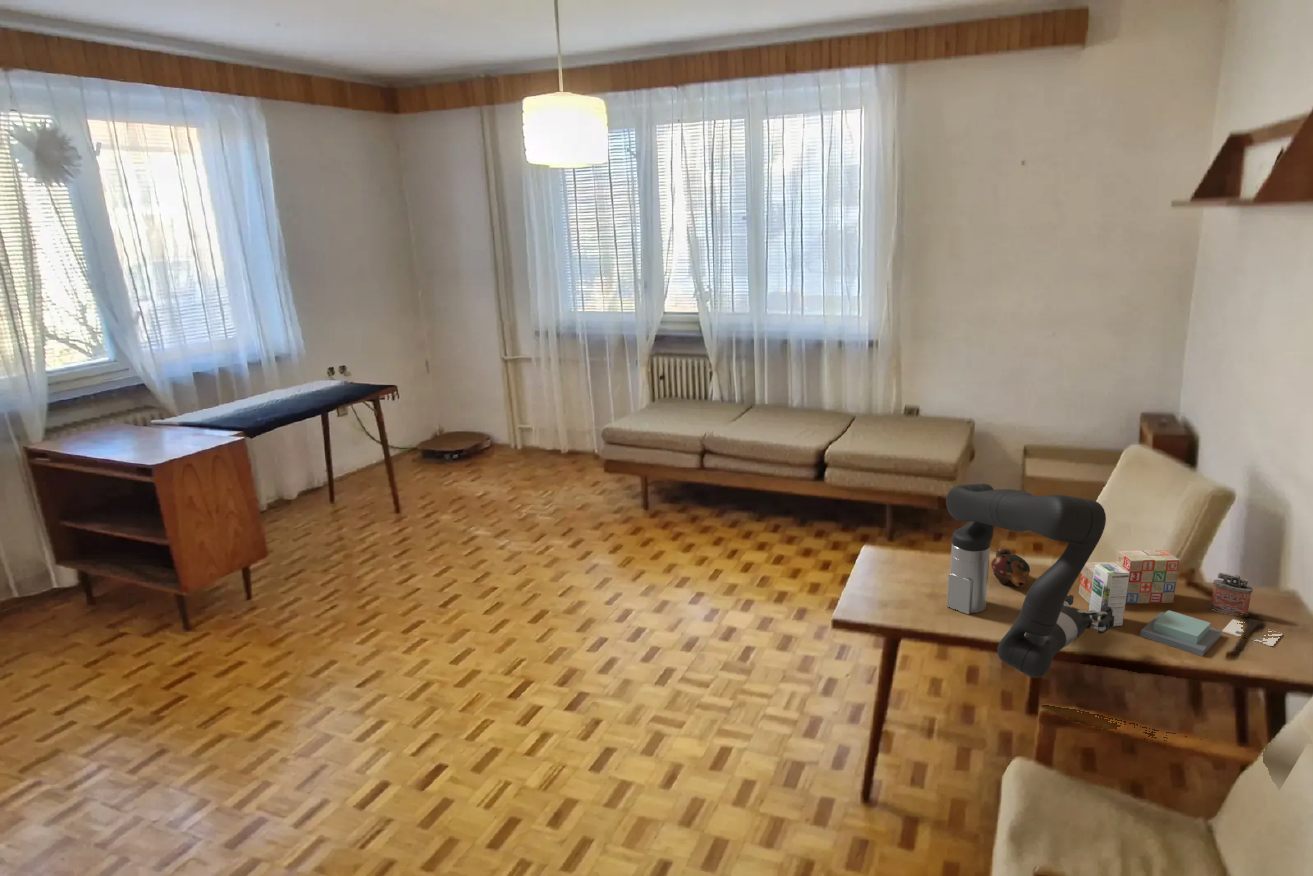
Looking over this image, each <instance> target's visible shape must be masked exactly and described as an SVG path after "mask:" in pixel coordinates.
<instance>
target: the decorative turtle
mask: <svg viewBox="0 0 1313 876" xmlns="http://www.w3.org/2000/svg"><path fill="white" fill-rule="evenodd" d="M991 569H992V571H993V575H994V576H995V577H996V578H997V577H998V578H997V580H998V582H999V583H1000V585H1006V584H1008V582H1011V583H1012V584H1013V585H1014V586H1016V587H1017V588H1024V587H1025V586H1026V584H1027V581H1026V580H1027V578H1028V576H1030V575H1029V574H1030V573H1031V568H1030V565H1029V563H1028V562H1027V561H1026V560H1025V559H1024V558H1022V557H1021V556H1020V555H1016V554H1015V553H1012V552H1011V550H1010V549H1009V548H1008V547H1005V546H999V548H997V549H996V553H995V557H994V558H993V559H992V560H991Z"/></svg>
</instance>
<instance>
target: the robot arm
mask: <svg viewBox="0 0 1313 876" xmlns="http://www.w3.org/2000/svg"><path fill="white" fill-rule="evenodd" d="M945 505H946V509H947V511H948V514H949V515H950V517H952V518H953V519H954V520H956V521H957V522H962V523H963V522H967V523H966V524H964V525H963V526H961V527H960V528H957V529H955V530H954V531H953V533H952V536H951V551H950V566H949V574H948V581H947V583H948V584H947V598H946V599H947V600H946V607H947V606H948V607H947V608H949V607H950V608H949V609H952V610H955V609H956V611H957V610H958V612H960V613H962V614H963V613H964V614H966V615H971V614H976V613H981V612H983V611H985V610H986V607H987V606H986V605H987V595H988V593H987V592H988V579H989V568H990V567H989V566H990V554H991V544H992V543H991V542H992V539H993V536H994V533H995V528H1000V529H1002V530H1008V531H1011V532H1012V531H1013V532H1019V533H1020V532H1021V533H1024V532H1028V531H1029V532H1030V531H1031V532H1033V533H1035V534H1039V535H1040V536H1043V537H1045V538H1047V539H1050V540H1054V541H1058V542H1065V543H1067V545H1066V547H1065V549H1064V551H1063V553H1062V554H1061V555H1060V557H1059V558H1058V559H1057V560H1056V561H1055V562H1054V563H1053V564H1052V565H1051V566H1050V567H1049V568H1048V569H1047V570H1046V571H1044V572H1043V573H1042V574H1041V575H1040V576H1038V578H1036V580H1035V581H1033V583H1032V585H1030V586H1029V589H1028V590H1027V593H1026V594H1025V597H1024V600H1023V603H1022V606H1021V609H1020V611H1019V614H1018V616H1017V618H1016V619H1015V621H1014V623H1013V624H1012V626H1011V627H1010V628H1009V630H1008V631H1007V632H1006V633H1005V635H1004V636H1003V637H1002V638H1001V640H1000V641H999V643H998V645H997V655H998V658H999V659H1000V661H1001V662H1003V663H1005V664H1006V665H1008V666H1010V667H1012V668H1013V669H1015V670H1017V671H1019V672H1021V673H1023V674H1024V675H1025V676H1028V677H1030V678H1034V679H1038V678H1039V679H1040V678H1042V677H1044V676H1046V674H1047V673H1048V672H1049V670H1050V667H1051V665H1052V662H1053V659H1054V657H1055V656H1056V654H1057V653H1059V651H1061V650H1062V649H1064V648H1066V647H1068V646H1069V645H1071V643H1073V642H1075V640H1077V639H1078V638H1079V637H1080V636H1081V635H1083V633H1084V632H1085V631H1086V630H1088V629H1091V628H1092V629H1095V630H1096V631H1097V632H1096V633H1097V634H1098V635H1103V634H1105V633H1106V632H1108V631H1109V630H1111V629H1113V627H1114V626H1113V625H1114V616H1113V615H1112V613H1113V610H1112V609H1111V607H1106V608H1105V609H1104V610H1103V611H1102V612H1096V611H1095V610H1089V609H1088V610H1083V609H1079V608H1076V607H1074V606H1071V605H1073V603H1074V595H1073V594H1069V593H1070V591H1071V589H1072V587H1073V585H1074V584H1075V582H1076V580H1077V579H1078V577H1079V575H1081V571H1082V569H1083V567H1084V566H1085V564H1086V562H1089V559H1090V557H1091V555H1092V554H1093V552H1094V550H1095V549H1096V547H1097V546H1098V544H1099V542H1100V540H1101V538H1102V536H1103V533H1104V531H1105V527H1106V523H1107V517H1106V511H1105V509H1104V506H1102V504H1100V503H1099V502H1098V501H1095V500H1092V499H1087V498H1082V497H1076V496H1070V495H1069V496H1068V495H1064V494H1052V495H1051V494H1050V495H1034V494H1033V493H1030V492H1028V491H1025V490H1019V489H1018V490H1017V489H1011V488H1010V489H1007V488H1003V489H1002V488H1001V489H994V488H993V486H991V485H990V484H988V483H973V484H961V485H956V486H954V487H952V488H951V489H950V490H949V491H948V493H947V495H946V498H945ZM1068 594H1069V595H1068ZM1090 615H1092V617H1090ZM1099 616H1101V619H1098V617H1099Z"/></svg>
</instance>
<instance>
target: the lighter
mask: <svg viewBox="0 0 1313 876" xmlns="http://www.w3.org/2000/svg"><path fill="white" fill-rule="evenodd" d="M1248 584H1249V579H1248V578H1243V577H1240V575H1238V574H1234V575H1231V574H1228V573H1224V572H1219V573H1218V574H1217V579H1214V580H1213V584H1212V585H1213V588H1212V593H1211V594H1212V595H1211V600H1210V601H1211V602H1210V603H1209V607H1210V608H1209V610H1211V609H1214V610H1216V611H1219V612H1218V613H1220V612H1222V613H1221V614H1223V613H1226V614H1225V615H1227V614H1234V615H1235V614H1236V615H1238V614H1240V615H1243V614H1248V615H1249V608H1250V602H1251V596H1252V594H1253V590H1254V588H1253V587H1251V586H1249V585H1248ZM1216 611H1215V612H1216Z"/></svg>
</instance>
